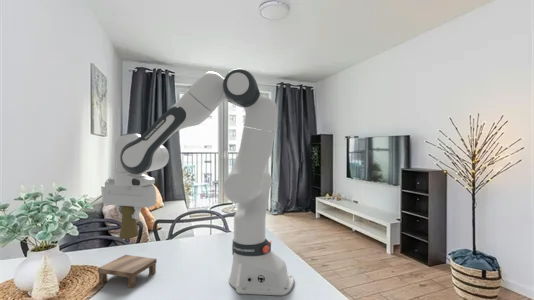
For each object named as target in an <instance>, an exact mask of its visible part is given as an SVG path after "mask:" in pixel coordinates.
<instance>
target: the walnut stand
mask: <svg viewBox="0 0 534 300" xmlns="http://www.w3.org/2000/svg"><path fill="white" fill-rule="evenodd" d="M156 264H157V258H152V257H145V256H138V255H129V254H124V255H122V256H120V257H118V258H115V259H113V260H112V261H109V262H108V263H105V264H104V265H100V266H99V267H98V269H97V273H98V283H99V282H101V283H100V284H104V283H106V282H107V278H108V275H111V276H119V277H124V278H127V288H129V289H133V288H135V287H136V285H137V284H136V283H137V282H136V281H137V280H136V279H137V278H136V276H137V275H139V274H141V273H143V272H145V271H146V270H148V274H149V275H154V274H156V272H157V271H156V269H157V265H156Z"/></svg>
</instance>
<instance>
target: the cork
mask: <svg viewBox="0 0 534 300" xmlns="http://www.w3.org/2000/svg"><path fill="white" fill-rule="evenodd" d="M134 212H135V210H134V207H132V206H123V207H122V208H121V214H122V218H121V224H120V231H119V239H121V240H130V239H135V238H137V237H138V236H139V230H138V223H137V222H138V221H137V219H132V214H134Z"/></svg>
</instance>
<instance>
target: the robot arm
mask: <svg viewBox="0 0 534 300" xmlns="http://www.w3.org/2000/svg"><path fill="white" fill-rule="evenodd" d="M224 102H228V103H231V104H232V105H235V106H237V107H239V108H243V109H244V112H245V115H244V116H245V117H244V124H243V128H242V129H243V130H242V133H241V140H240V144H239V149H238V152H237V156H236V158H235V160H234V163H233V165H232V168H231V171H230V173H229V174H228V175H227V176H226V178H225V180H224V181H223V188H222V190H223V194H224V195H225V198H226V199H227V200H228V201H230V202H232V203H234V204H238V205H237V208H236V212H235V214H234V216H233V239H232V243H231V251H232V263H231V264H232V265H231V271H230V274H229V277H228V282H229V284H230V285H231V287H233V288H234V289H235V291H236V293H237V294H243V295H261V296H262V295H263V296H264V295H267V296H285V295H287V294H288V293H289V292H291V290H292V289H293V286H294V284H295V281H294V280H295V279H294V275H293V274H292V273H290V272H288V269H287V264H286V261H285V260H284V259H283V258H281V257H280V256H278V254H276V253H275V252H274V251H272V240H270V241H269V240H268V239H267V238H266V221H267V220H266V217H267V209H268V204H269V199H270V189H271V187H272V184H273V181H272V180H273V179H272V175H271V174H270V172H268V171H267V170H266V166H267V164H268V161H269V159H270V157H271V156H272V152H273V147H274V142H275V141H274V140H275V137H276V136H275V135H276V132H277V131H276V130H277V122H278V105H277V103H276V102H275V101H274V100H273V99H271V98H269V97H267V96H263V95H261V92H260V90H259V85H258V82H257V80H256V79H255V77H254V75H253V73H251V72H250V71H248V70H246V69H244V68H235V69H232V70H230V71H228V73H227V74H226V75H225V76H224V77H223V76H222V75H221V74H219V73H217V72H214V71H207V72H206V73H204V74H203V75H201V76H200V77H199V78H198V79H197V80H196V81H194V83H193V84H191V86H190V87H189V88H188V89H187V90H186V91H185V92H184V94H182V96H181V97H180V98H179V99H178V100H177V101H176V102H175V103H174V104H173V105H172V106H171V107H170V108H169V109H167V110H166V111H165V112H164V113H163V114H162V115H161V116H160V117H159V118H157V119H156V121H155V122H153V124H152V125H151V126H150V127H148V129H147V130H145V131H144V132H143V133H142V134H139V133H132V132H131V133H125V134H121V135H119V136H117V137H116V141H115V143H114V162H115V168H114V178H108V179H107V180H105V182H104V187H103V192H102V203H103V205H106V206H107V205H108V206H115V208H116V211H117V213H118V218H119V219H122V214H121V208H122V207H123V206H132V207H134V210H135V212H134V214H132V219H136V220H138V219H139V218H140V217H139V216H140V213H141V211H142V208H151V207H154V206H155V205H156V202H157V191H156V187H155V186H154V184H156V180H155V178H154V177H151V176H150V175H146V174H145V172H146V173H147V172H152V171H156V170H160V169H163V168H164V167H166V166H167V165H168V163H169V161H170V152H169V150H168V148H167V147H166V146H165V145H164V144H165V142H167V141H168V140H169V138H170V137H172V135H174V134H175V133H176V132H178V131H180V130H183V129H185V128H190V127H193V126H194V127H195V126H199V125H201V124H202V123H203V122H205V121H206V120H207V119H208V118H209V117H210V116H211V115H212V114H213V112H214V111H215V110H216V109H217V108H218V107H219V105H220V104H222V103H224Z"/></svg>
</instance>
